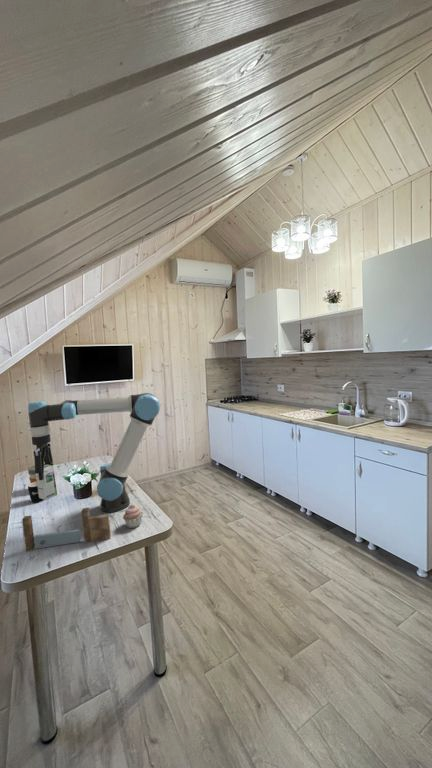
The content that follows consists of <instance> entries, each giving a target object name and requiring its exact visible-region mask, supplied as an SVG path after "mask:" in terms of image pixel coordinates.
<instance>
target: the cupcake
mask: <svg viewBox="0 0 432 768" xmlns="http://www.w3.org/2000/svg"><path fill="white" fill-rule="evenodd" d="M124 510H125V511H124V514H122V516H123V517H122V519H123V521H124V522H125V524H126V527H127V528H129V529H135V528H139V526H140V525H141V523H142V518H143V515H144V512H142V510H141V509H140V507H138V506H137V505H136V504H133V503H132V504H130V505H129V506H128V507H127V508H125V509H124Z"/></svg>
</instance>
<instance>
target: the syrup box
mask: <svg viewBox="0 0 432 768" xmlns="http://www.w3.org/2000/svg"><path fill="white" fill-rule="evenodd" d="M44 472H45V477H46V485H47V486H44V487H40V486H39V478H38V473H36V479H37V486H38V493H39V498H41V499H44V501H47V500H49V499H51V498H53V497H55V496H58V491H57V490H58V489H57V484H56V483H57V482H56V474H55V467H54V465H45V466H44Z"/></svg>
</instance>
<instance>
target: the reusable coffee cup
mask: <svg viewBox="0 0 432 768" xmlns="http://www.w3.org/2000/svg"><path fill="white" fill-rule="evenodd" d="M44 466H45V463H44ZM27 473H28V475H29V482H30V484H31V483H33V482H37V479H36V473H35V464H34V465H32V466H29V467H28V472H27Z"/></svg>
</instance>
